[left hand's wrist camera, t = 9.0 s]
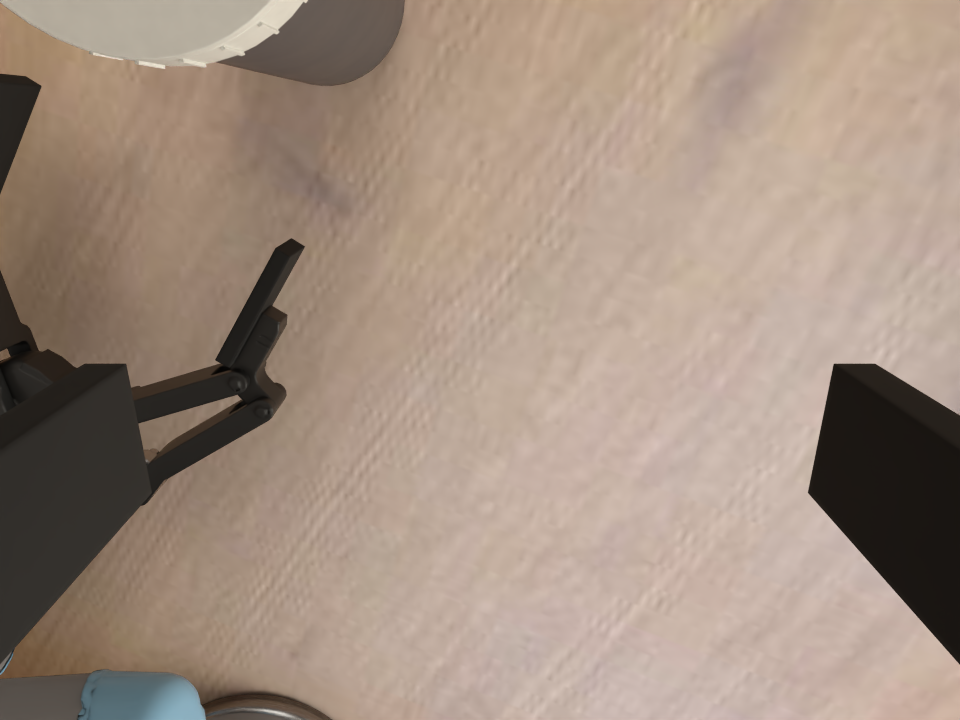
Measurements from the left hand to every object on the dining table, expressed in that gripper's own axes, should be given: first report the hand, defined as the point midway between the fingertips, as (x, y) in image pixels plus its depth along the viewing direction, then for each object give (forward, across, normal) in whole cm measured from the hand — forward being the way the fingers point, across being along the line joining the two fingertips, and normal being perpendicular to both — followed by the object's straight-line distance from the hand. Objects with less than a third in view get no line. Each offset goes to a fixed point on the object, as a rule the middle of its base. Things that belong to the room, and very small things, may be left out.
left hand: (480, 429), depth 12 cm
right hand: (+20, +15, -4) cm, 25 cm away
